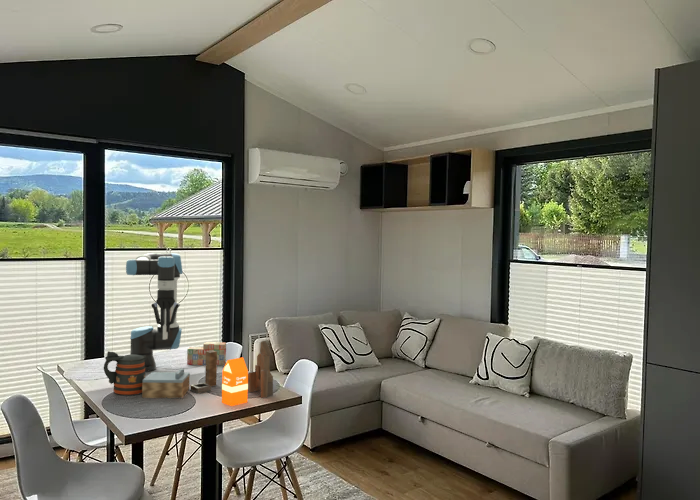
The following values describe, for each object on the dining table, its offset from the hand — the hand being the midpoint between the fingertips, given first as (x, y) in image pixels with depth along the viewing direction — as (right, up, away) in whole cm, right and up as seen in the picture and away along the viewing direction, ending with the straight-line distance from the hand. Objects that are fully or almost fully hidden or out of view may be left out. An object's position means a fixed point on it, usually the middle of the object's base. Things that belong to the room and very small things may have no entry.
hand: (165, 338), depth 253 cm
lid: (+1, -19, +1) cm, 19 cm away
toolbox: (0, -26, +1) cm, 26 cm away
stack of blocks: (+3, -25, +61) cm, 66 cm away
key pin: (+17, -26, +17) cm, 35 cm away
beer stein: (-20, -26, +2) cm, 32 cm away
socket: (+15, -26, +7) cm, 31 cm away
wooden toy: (+44, -27, +5) cm, 52 cm away
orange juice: (+35, -27, -10) cm, 46 cm away
